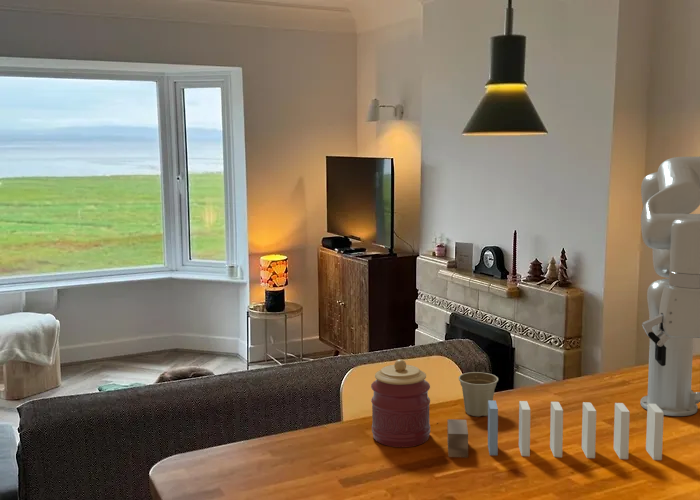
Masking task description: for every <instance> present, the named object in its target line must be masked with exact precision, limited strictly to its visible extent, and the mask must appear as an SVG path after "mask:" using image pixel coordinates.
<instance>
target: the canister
mask: <svg viewBox="0 0 700 500" xmlns="http://www.w3.org/2000/svg"><path fill="white" fill-rule="evenodd" d="M374 378H375V380H374V381H373V382H371V386H370V388H371V389H372V391H373V396H372V397H371V400H370V401H371V405H372V407H371V409H372V410H371V413H372V417H371V418H372V421H371V422H372V425H371V433H372V437H373V439H374V440H375V441H376V442H377V443H379V444H381V445H384V446H387V447H393V448H411V447H417V446H419V445H422V444H425V442H427V441H428V440H429V438H430V433H431V424H430V404H431V399H430V397H429V393H428V392H429V390H430V389H431V385H430V382H428V381H427V380H426V378H427V373H425V372H424V371H423V370H421V369H420V368H419V367H417V366H415V365H410V364H407V363H406V361H405V360H404V359H399V358H398V359H396V360H395V362H394V364H389V365H386V366H384V367H382V368H381V369H380V370H378V371H376V373H375V374H374Z"/></svg>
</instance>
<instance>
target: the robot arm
mask: <svg viewBox="0 0 700 500" xmlns="http://www.w3.org/2000/svg"><path fill="white" fill-rule="evenodd" d="M640 186H641V187H640V194H641V203H642V207H643V208H642V210H641V215H640V226H641V237H642V241H643V244H645V246H646V247H647V248H649V249H652V264H653V269H654V272H655V274H656V275H658V276H659V277H662V278H663V279H657V280H655V281H654V280H653V282H652V283H650V284H649V285H648V288H647V291H646V293H647V294H646V298H647V299H646V300H647V307H648V316H649V317H648V318H649V319H647V320H645V321H643V322H642V323H641V326H642V329H643V330H644V333H645V335H646V336H647V337H648V338H649V346H648V347H649V348H648V349H649V351H648V354H649V355H648V373H647V374H648V378H647V379H648V380H647V395H644V396H642V398H641V399H640V405H641V407H642V408H643V409H645V410H646V411H647V405H648V404H656V405H657V406H658V407H659V408H660V409H661V410H662V411H663V412H664V416H671V417H686V416H687V417H688V416H692V415H694V414H696V413H697V412H698V404H699V403H700V391H695V392H694V391H693V390H692V380H693V379H692V375H693V356H694V354H693V353H694V352H693V351H694V339H700V213H693V212H695V211H696V210H697V209H698V208H699V206H700V156H699V155H698V156H677V157H676V156H675V157H671V158H668V159H665V160H664V161H662V163H660V165H659V166H658V169H657V171H655V172H652V173H649V174H647V175H646V176H644V177H643V179H642V181H641V185H640Z"/></svg>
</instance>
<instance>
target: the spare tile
mask: <svg viewBox="0 0 700 500" xmlns="http://www.w3.org/2000/svg"><path fill="white" fill-rule="evenodd" d="M498 428H499V407H498V405H497V400H493V401H492V400H488V415H487V448H488V453H489V454H488V455H489V456H498V453H499V450H498V449H499V448H498V446H499V445H498V444H499V442H498V441H499V430H498Z"/></svg>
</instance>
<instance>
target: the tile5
mask: <svg viewBox="0 0 700 500" xmlns="http://www.w3.org/2000/svg"><path fill="white" fill-rule="evenodd" d="M518 405H519V406H518V407H519V409H518V448H519V452H520V455H521V456H522V457H530V456H531V455H530V454H531V451H530V450H531V407H530V405H529V403H528V400H519V403H518Z"/></svg>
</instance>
